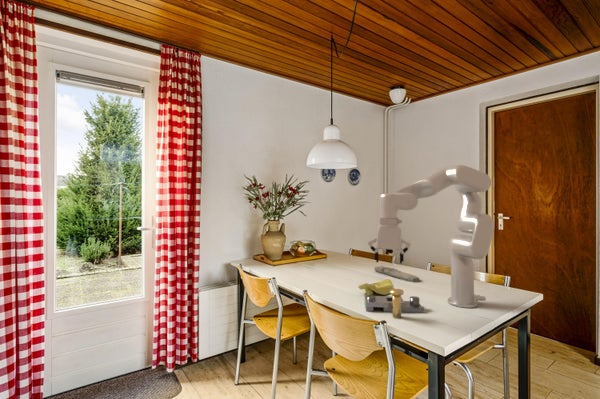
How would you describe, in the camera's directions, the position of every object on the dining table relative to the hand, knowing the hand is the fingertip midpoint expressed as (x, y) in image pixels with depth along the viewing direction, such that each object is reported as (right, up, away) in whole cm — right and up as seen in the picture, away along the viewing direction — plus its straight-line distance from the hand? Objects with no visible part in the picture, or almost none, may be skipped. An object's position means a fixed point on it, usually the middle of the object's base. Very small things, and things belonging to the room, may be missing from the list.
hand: (389, 262), depth 138 cm
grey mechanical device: (+3, -22, +7) cm, 23 cm away
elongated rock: (+22, -21, +64) cm, 71 cm away
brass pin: (+2, -22, -3) cm, 22 cm away
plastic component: (+1, -22, +30) cm, 37 cm away
